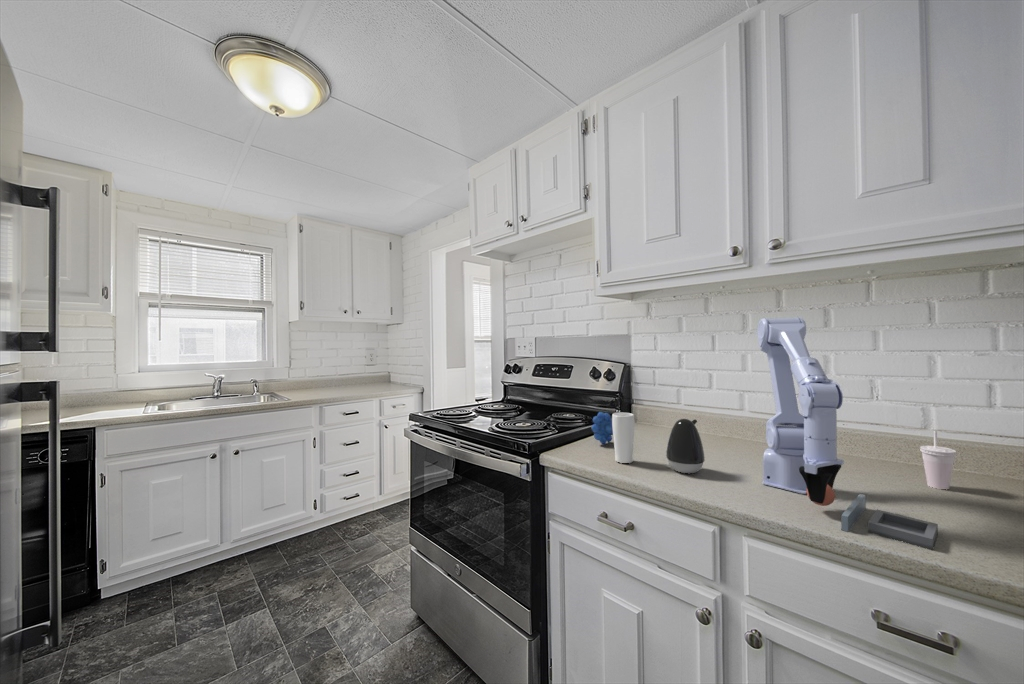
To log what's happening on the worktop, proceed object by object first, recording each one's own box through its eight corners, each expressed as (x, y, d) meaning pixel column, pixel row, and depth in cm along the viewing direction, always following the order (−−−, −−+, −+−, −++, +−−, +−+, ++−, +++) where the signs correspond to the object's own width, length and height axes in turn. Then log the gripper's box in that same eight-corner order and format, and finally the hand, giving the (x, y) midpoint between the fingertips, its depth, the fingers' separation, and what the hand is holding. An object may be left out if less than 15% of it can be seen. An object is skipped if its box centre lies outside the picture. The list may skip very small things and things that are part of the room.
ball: (803, 504, 89) (803, 482, 89) (810, 498, 92) (810, 476, 92) (831, 511, 85) (831, 488, 85) (837, 505, 88) (837, 482, 88)
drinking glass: (627, 466, 121) (626, 417, 121) (608, 461, 126) (607, 414, 126) (639, 461, 126) (638, 414, 125) (620, 457, 131) (619, 411, 130)
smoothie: (936, 482, 104) (936, 428, 104) (965, 491, 97) (964, 434, 97) (912, 482, 104) (912, 429, 103) (940, 492, 97) (939, 435, 97)
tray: (868, 532, 79) (867, 522, 79) (877, 518, 84) (877, 509, 84) (932, 550, 72) (932, 539, 72) (937, 534, 78) (937, 524, 78)
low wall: (841, 529, 80) (841, 515, 80) (859, 507, 90) (859, 493, 90) (847, 531, 79) (847, 516, 79) (865, 508, 89) (865, 495, 89)
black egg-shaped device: (712, 472, 115) (712, 419, 115) (689, 479, 109) (689, 424, 109) (681, 463, 124) (681, 413, 123) (659, 469, 118) (658, 418, 118)
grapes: (601, 449, 140) (601, 415, 140) (587, 445, 146) (587, 412, 146) (623, 443, 147) (622, 411, 147) (609, 439, 153) (608, 408, 152)
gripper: (833, 447, 80) (834, 514, 81) (851, 434, 90) (851, 494, 90) (792, 440, 86) (793, 503, 86) (813, 429, 95) (813, 486, 95)
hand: (820, 498), depth 88 cm, fingers closed on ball, 5 cm apart
